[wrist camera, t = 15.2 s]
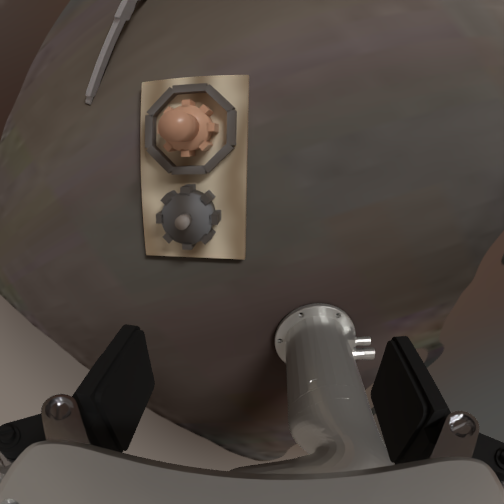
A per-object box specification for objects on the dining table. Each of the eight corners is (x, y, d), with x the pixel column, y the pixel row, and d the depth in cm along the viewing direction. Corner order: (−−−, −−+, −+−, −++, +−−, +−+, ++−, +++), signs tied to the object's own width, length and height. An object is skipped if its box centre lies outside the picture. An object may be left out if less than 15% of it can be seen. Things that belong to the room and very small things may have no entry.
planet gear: (219, 101, 34) (207, 91, 27) (218, 155, 36) (205, 157, 29) (166, 104, 34) (143, 96, 27) (165, 156, 36) (142, 159, 29)
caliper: (150, -13, 29) (134, -31, 23) (156, -12, 29) (140, -30, 23) (87, 103, 35) (62, 99, 30) (92, 105, 36) (67, 101, 30)
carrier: (249, 77, 34) (245, 64, 28) (245, 256, 42) (241, 274, 36) (145, 84, 34) (125, 75, 28) (149, 252, 42) (132, 268, 36)
